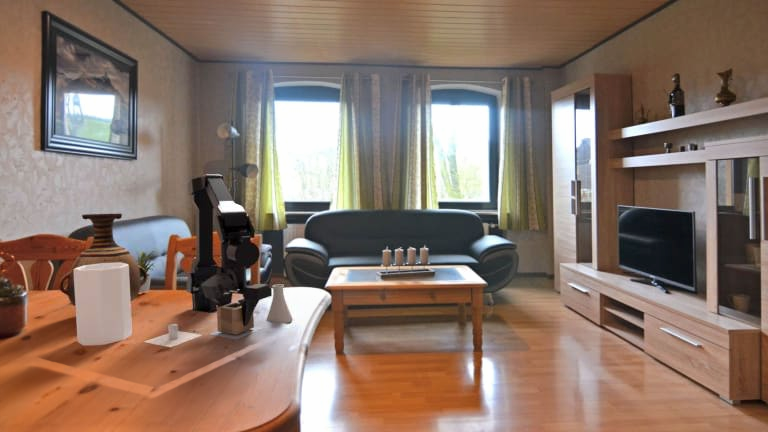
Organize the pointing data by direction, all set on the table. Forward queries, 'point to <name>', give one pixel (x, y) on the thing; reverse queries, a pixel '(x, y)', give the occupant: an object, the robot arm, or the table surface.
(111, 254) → the vase
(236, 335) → the plate
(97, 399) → the table surface
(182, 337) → the rod stand
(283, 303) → the flask
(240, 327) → the walnut collar
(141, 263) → the house plant
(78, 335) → the cup
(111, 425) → the table surface
